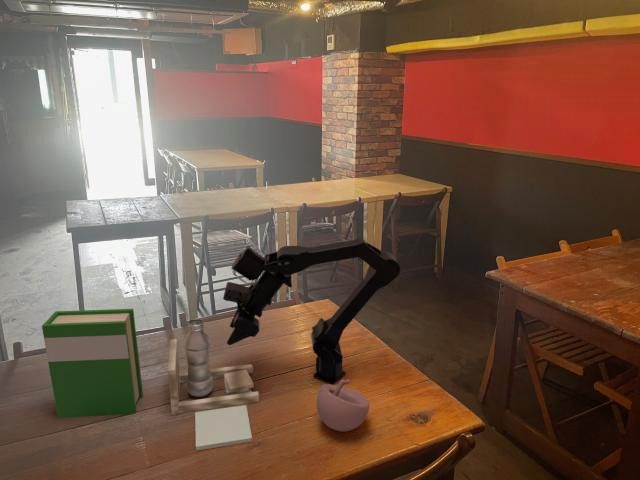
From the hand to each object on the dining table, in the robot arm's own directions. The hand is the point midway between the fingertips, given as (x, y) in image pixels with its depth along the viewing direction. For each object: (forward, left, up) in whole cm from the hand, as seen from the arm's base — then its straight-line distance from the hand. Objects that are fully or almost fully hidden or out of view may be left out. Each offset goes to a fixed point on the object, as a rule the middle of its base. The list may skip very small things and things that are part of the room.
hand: (229, 335), depth 126 cm
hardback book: (+17, +27, -13) cm, 35 cm away
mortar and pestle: (-34, -2, -13) cm, 36 cm away
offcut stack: (-4, +2, -14) cm, 14 cm away
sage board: (-12, +15, -13) cm, 23 cm away
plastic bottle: (+2, +9, -13) cm, 16 cm away
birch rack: (0, +6, -13) cm, 15 cm away
